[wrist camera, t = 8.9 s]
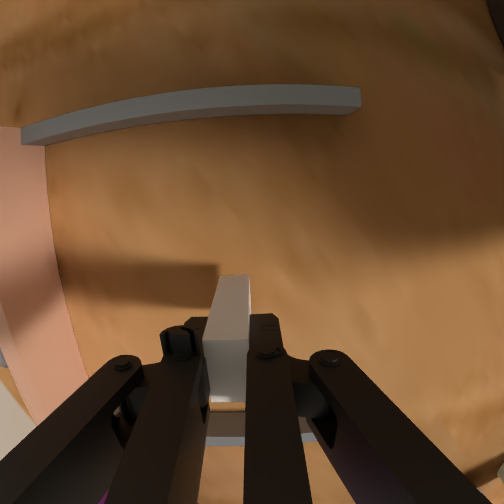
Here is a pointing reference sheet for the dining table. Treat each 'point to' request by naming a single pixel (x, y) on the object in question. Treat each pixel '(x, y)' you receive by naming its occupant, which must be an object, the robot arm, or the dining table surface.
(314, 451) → the dining table surface
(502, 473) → the can
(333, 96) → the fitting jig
